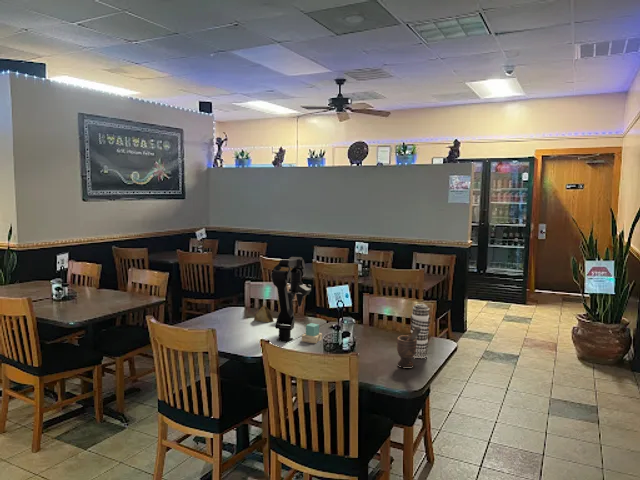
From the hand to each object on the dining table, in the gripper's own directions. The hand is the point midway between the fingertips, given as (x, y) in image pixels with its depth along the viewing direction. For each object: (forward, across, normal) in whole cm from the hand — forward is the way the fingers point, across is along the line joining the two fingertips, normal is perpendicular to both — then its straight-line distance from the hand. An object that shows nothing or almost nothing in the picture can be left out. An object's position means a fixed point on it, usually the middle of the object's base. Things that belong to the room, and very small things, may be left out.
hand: (295, 308), depth 262 cm
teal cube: (+10, -8, -16) cm, 20 cm away
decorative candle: (+13, 0, -70) cm, 71 cm away
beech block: (+13, -8, -16) cm, 22 cm away
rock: (+13, +7, +26) cm, 30 cm away
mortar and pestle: (+13, -17, -71) cm, 74 cm away
